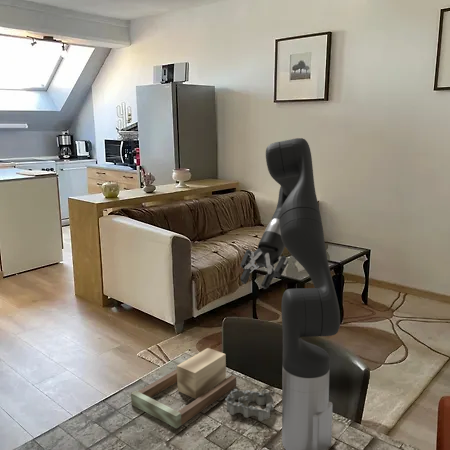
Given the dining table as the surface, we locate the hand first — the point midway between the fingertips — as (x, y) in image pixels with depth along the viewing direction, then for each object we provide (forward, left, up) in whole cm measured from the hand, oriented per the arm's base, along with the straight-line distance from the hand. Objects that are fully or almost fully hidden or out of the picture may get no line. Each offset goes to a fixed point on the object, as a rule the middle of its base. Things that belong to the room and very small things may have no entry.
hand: (253, 284), depth 131 cm
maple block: (0, +23, -21) cm, 31 cm away
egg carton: (-16, +24, -21) cm, 36 cm away
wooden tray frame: (0, +28, -20) cm, 35 cm away
